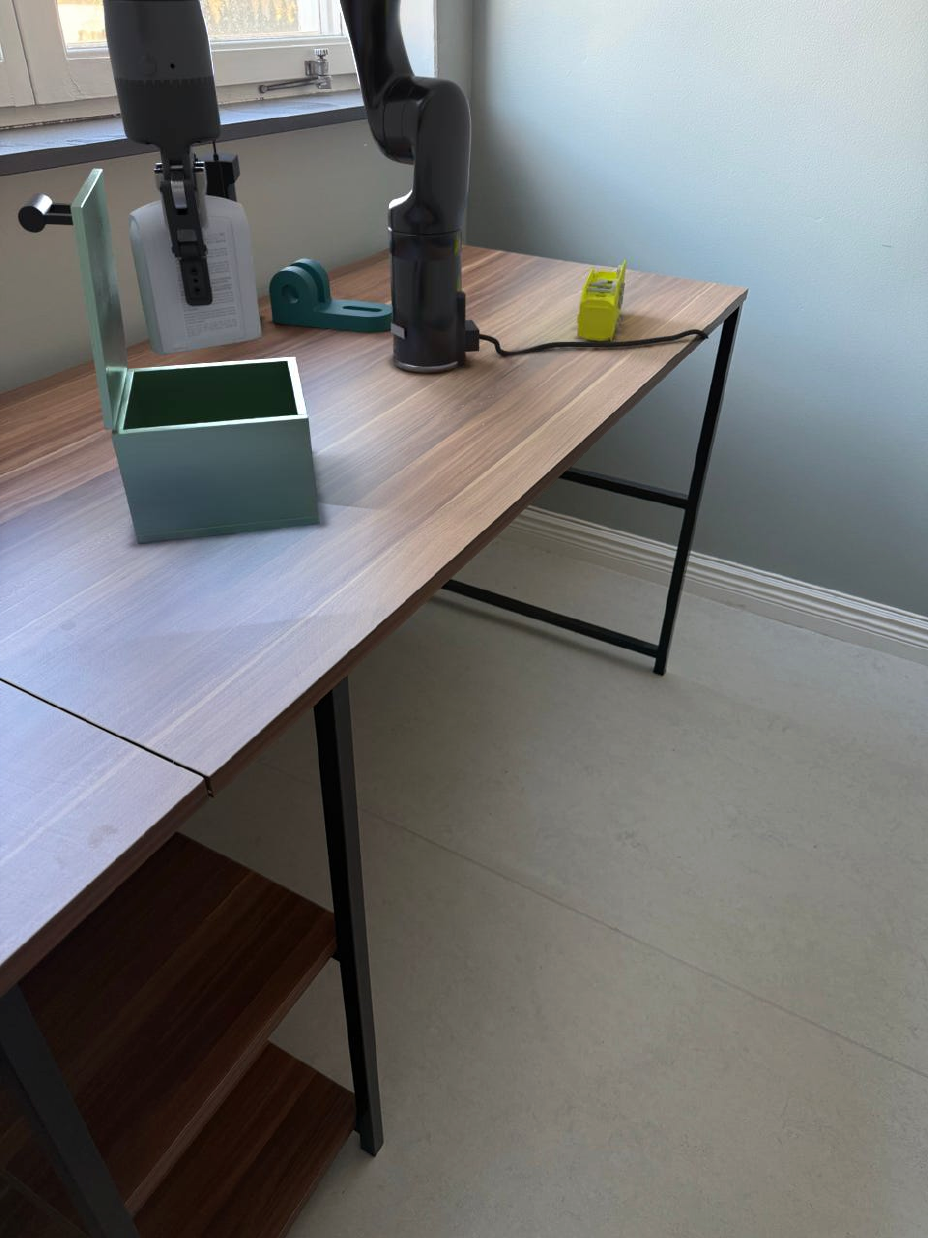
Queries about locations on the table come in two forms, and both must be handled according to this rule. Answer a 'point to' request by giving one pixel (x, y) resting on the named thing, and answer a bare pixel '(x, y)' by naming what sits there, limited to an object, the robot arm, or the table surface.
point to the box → (215, 449)
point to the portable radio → (221, 173)
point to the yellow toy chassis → (601, 304)
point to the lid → (92, 280)
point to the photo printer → (228, 271)
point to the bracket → (321, 302)
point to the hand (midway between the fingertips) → (200, 293)
